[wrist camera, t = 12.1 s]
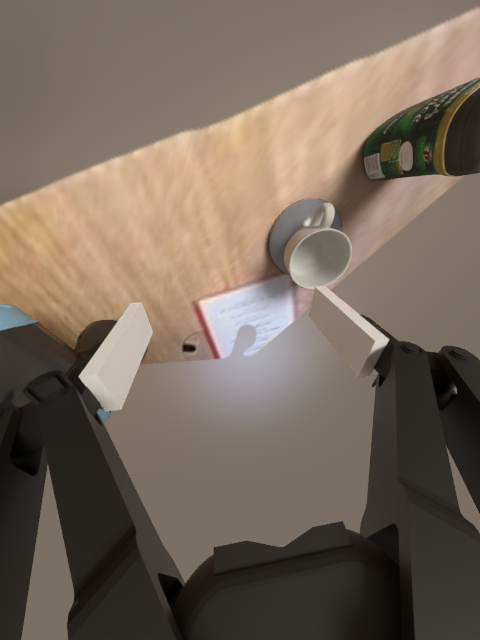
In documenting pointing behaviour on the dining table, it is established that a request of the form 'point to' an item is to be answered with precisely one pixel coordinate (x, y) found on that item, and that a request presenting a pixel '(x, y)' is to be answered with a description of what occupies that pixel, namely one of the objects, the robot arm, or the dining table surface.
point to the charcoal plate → (294, 227)
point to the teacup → (318, 251)
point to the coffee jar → (429, 138)
